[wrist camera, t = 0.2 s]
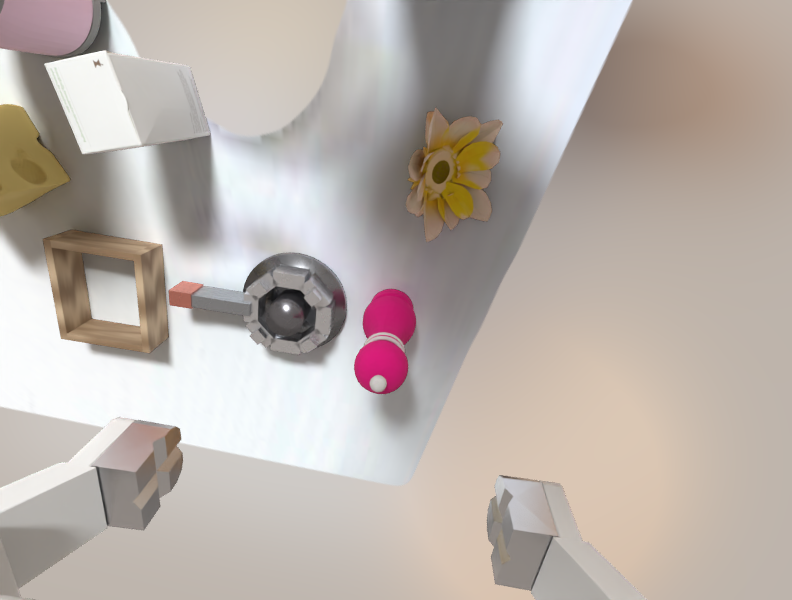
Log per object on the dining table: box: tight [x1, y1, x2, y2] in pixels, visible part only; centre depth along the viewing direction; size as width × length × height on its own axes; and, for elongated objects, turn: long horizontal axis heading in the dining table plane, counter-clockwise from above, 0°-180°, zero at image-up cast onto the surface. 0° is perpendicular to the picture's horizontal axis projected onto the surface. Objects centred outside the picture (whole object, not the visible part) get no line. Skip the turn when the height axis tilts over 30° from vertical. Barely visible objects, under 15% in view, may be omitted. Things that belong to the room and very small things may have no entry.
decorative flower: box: [406, 108, 503, 242], centre depth 50 cm, size 15×11×10 cm
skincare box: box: [44, 50, 210, 154], centre depth 47 cm, size 8×7×16 cm
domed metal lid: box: [243, 253, 347, 348], centre depth 61 cm, size 15×15×6 cm
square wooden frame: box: [43, 230, 169, 353], centre depth 62 cm, size 15×13×5 cm
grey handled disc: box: [169, 264, 336, 355], centre depth 60 cm, size 22×12×4 cm, turn 82°
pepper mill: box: [354, 289, 416, 394], centre depth 54 cm, size 7×7×20 cm
